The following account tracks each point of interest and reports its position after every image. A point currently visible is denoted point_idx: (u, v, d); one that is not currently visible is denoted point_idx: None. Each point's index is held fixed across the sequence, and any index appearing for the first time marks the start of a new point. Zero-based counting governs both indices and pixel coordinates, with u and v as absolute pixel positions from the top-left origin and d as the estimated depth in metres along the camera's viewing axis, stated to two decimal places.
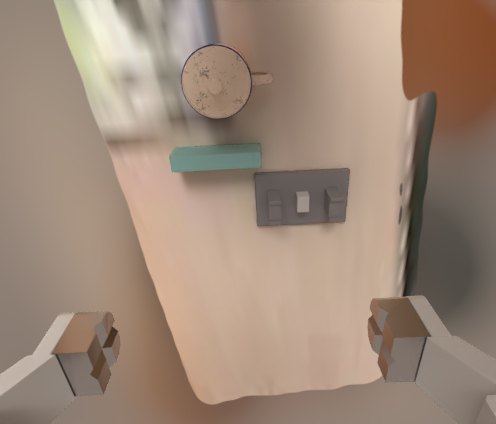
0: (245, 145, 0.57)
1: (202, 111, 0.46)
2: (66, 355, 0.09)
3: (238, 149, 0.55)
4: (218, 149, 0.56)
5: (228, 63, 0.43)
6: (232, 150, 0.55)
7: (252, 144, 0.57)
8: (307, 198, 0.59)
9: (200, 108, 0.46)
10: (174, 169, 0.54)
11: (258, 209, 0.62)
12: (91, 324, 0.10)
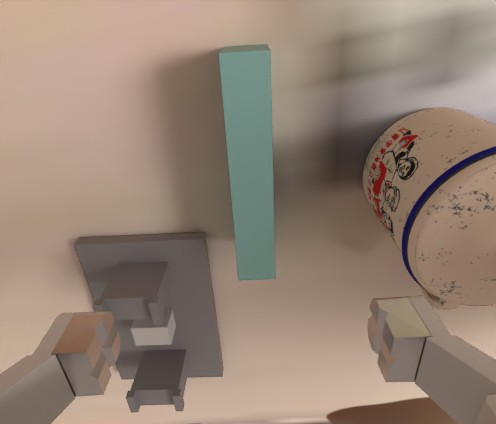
0: None
1: (446, 204, 0.16)
2: (66, 355, 0.09)
3: None
4: None
5: None
6: None
7: None
8: (165, 341, 0.29)
9: (458, 201, 0.15)
10: (228, 63, 0.17)
11: (118, 246, 0.27)
12: (91, 324, 0.10)
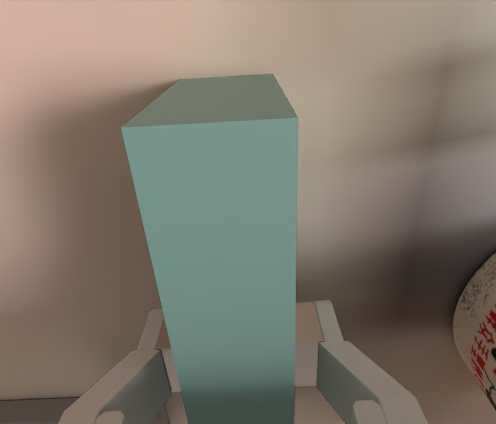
0: None
1: None
2: (169, 350, 0.09)
3: None
4: None
5: None
6: None
7: None
8: None
9: None
10: (157, 157, 0.05)
11: None
12: None
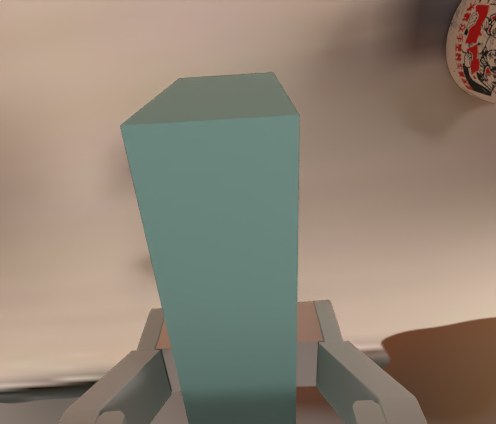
0: None
1: None
2: (170, 350, 0.09)
3: None
4: None
5: None
6: None
7: None
8: None
9: None
10: (157, 155, 0.05)
11: None
12: None
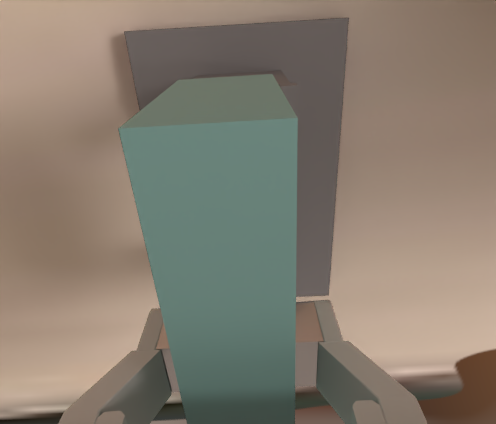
0: None
1: None
2: None
3: None
4: None
5: None
6: None
7: None
8: None
9: None
10: (155, 158, 0.05)
11: (200, 35, 0.16)
12: None
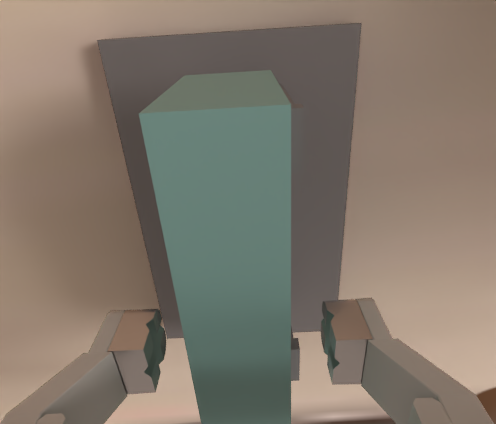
0: None
1: None
2: (122, 352, 0.09)
3: None
4: None
5: None
6: None
7: None
8: None
9: None
10: (169, 139, 0.06)
11: (187, 44, 0.13)
12: (142, 322, 0.10)
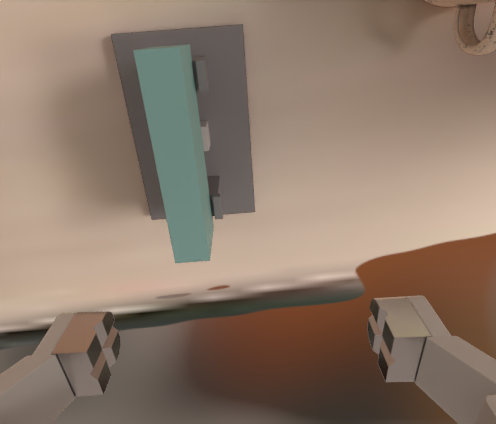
0: (209, 208, 0.28)
1: None
2: (66, 355, 0.09)
3: (206, 205, 0.26)
4: (200, 162, 0.24)
5: None
6: (204, 195, 0.25)
7: (211, 219, 0.28)
8: (203, 147, 0.29)
9: None
10: (143, 59, 0.19)
11: (156, 36, 0.27)
12: (91, 324, 0.10)
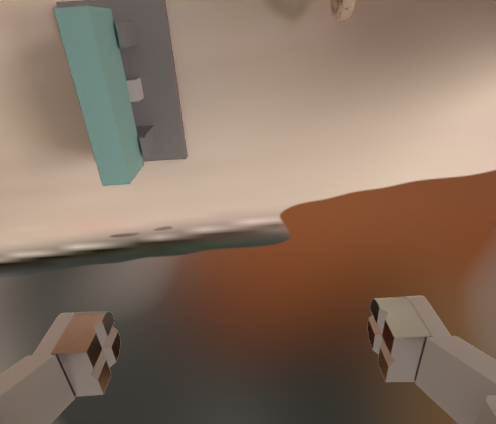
0: (135, 146, 0.34)
1: None
2: (66, 355, 0.09)
3: (128, 141, 0.32)
4: (121, 104, 0.31)
5: None
6: (125, 131, 0.31)
7: (139, 156, 0.35)
8: (134, 98, 0.35)
9: None
10: (61, 15, 0.25)
11: (93, 4, 0.33)
12: (91, 324, 0.10)
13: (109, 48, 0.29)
